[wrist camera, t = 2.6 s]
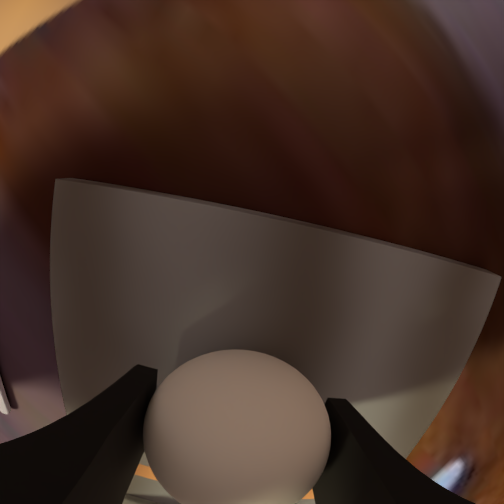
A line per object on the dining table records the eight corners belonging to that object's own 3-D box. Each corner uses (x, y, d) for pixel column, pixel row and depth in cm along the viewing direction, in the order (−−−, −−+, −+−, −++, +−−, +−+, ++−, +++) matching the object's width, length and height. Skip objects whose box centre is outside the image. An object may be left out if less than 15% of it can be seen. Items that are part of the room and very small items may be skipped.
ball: (162, 417, 10) (128, 524, 5) (173, 302, 9) (108, 418, 4) (290, 438, 10) (305, 546, 5) (334, 332, 9) (392, 452, 4)
